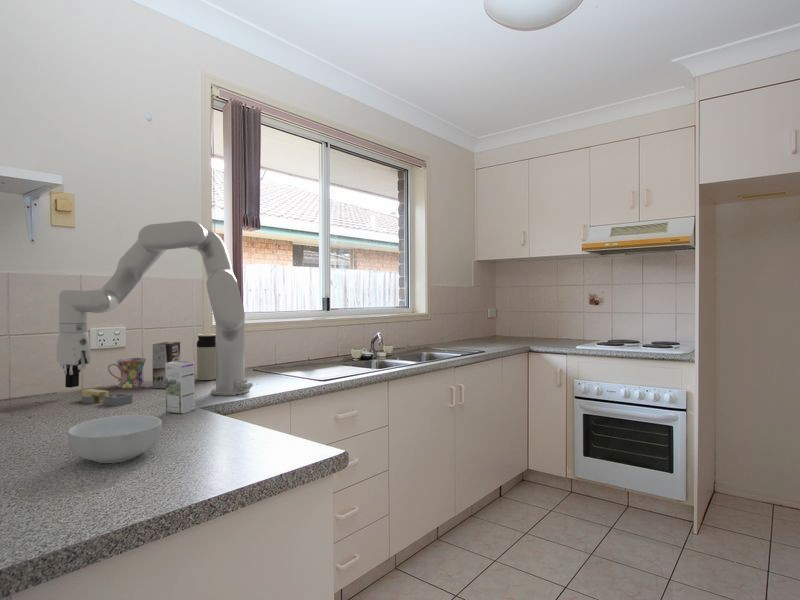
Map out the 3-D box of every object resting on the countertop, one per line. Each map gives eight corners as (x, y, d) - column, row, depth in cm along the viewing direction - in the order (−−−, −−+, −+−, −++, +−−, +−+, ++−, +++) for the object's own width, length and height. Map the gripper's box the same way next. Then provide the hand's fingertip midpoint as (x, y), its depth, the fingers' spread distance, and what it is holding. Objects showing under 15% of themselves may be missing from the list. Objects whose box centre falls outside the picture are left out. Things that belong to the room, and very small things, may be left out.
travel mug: (198, 381, 191) (198, 335, 190) (195, 378, 197) (195, 334, 197) (219, 379, 195) (219, 334, 194) (216, 376, 201) (216, 333, 201)
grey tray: (158, 400, 157) (158, 388, 157) (85, 417, 135) (85, 404, 135) (126, 396, 163) (126, 385, 163) (50, 412, 141) (50, 399, 141)
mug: (147, 385, 182) (147, 357, 182) (144, 390, 173) (143, 360, 173) (111, 388, 178) (110, 358, 178) (105, 392, 169) (105, 362, 169)
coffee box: (169, 388, 177) (169, 343, 177) (151, 388, 177) (151, 343, 177) (181, 383, 186) (181, 341, 186) (164, 383, 186) (164, 341, 186)
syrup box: (195, 409, 144) (195, 360, 144) (180, 414, 139) (180, 363, 139) (180, 408, 146) (179, 359, 146) (164, 412, 141) (164, 362, 141)
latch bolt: (108, 400, 151) (108, 390, 151) (99, 402, 148) (99, 392, 148) (91, 398, 154) (91, 388, 154) (81, 400, 151) (81, 390, 151)
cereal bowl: (59, 477, 92) (58, 439, 91) (77, 451, 107) (76, 418, 107) (160, 464, 98) (159, 429, 98) (163, 441, 114) (163, 411, 113)
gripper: (100, 329, 155) (99, 386, 155) (69, 327, 161) (68, 382, 161) (76, 330, 148) (75, 391, 148) (45, 328, 154) (44, 386, 154)
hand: (72, 386), depth 155 cm, fingers closed
